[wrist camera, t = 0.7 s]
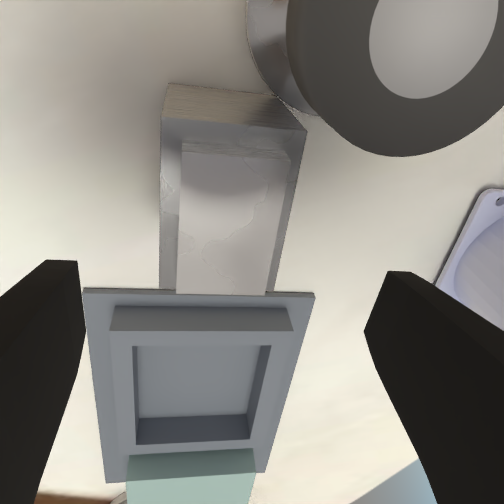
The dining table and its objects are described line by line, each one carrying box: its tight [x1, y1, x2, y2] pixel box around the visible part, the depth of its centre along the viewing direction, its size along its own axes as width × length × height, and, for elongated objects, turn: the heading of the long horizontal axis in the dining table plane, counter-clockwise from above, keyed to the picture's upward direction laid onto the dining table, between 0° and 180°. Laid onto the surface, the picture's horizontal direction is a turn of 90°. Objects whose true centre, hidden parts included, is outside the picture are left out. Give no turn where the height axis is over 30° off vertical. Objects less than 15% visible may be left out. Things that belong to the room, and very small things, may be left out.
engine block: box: [159, 83, 307, 295], centre depth 14 cm, size 4×6×6 cm
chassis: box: [82, 288, 315, 504], centre depth 24 cm, size 12×18×3 cm, turn 172°
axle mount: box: [246, 0, 319, 116], centre depth 13 cm, size 7×7×2 cm
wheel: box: [286, 0, 504, 157], centre depth 10 cm, size 6×6×2 cm
